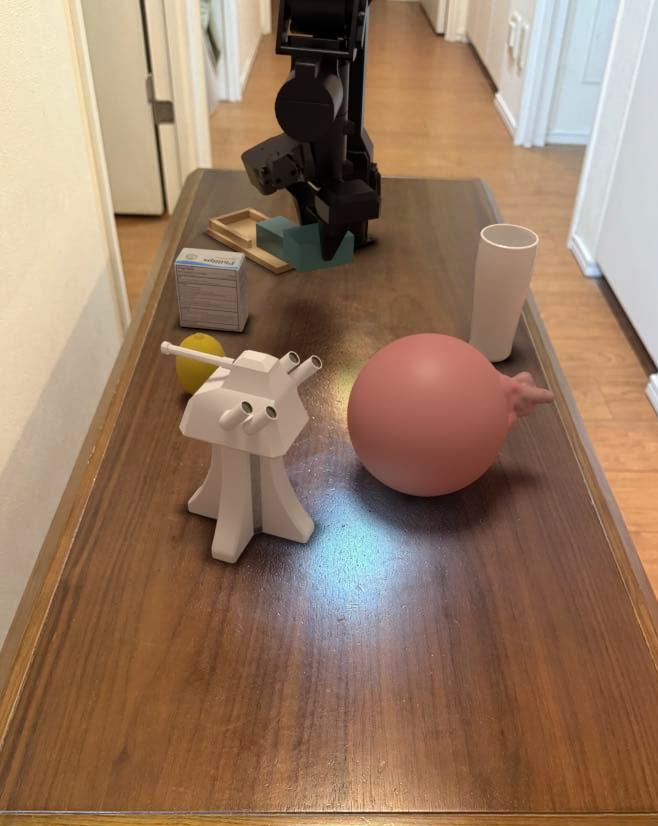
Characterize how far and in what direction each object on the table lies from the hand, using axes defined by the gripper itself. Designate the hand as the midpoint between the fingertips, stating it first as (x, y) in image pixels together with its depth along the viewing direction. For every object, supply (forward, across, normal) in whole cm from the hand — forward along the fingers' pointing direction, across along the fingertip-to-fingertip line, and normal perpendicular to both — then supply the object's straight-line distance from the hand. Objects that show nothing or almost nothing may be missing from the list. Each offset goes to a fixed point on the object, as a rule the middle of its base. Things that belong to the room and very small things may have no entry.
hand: (318, 251), depth 98 cm
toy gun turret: (+10, +29, -21) cm, 38 cm away
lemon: (+10, +9, -18) cm, 23 cm away
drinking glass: (+11, +13, +18) cm, 24 cm away
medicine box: (+11, -7, -11) cm, 17 cm away
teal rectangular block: (+1, 0, 0) cm, 1 cm away
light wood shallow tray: (+11, -25, +3) cm, 28 cm away
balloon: (+10, +32, -1) cm, 34 cm away
